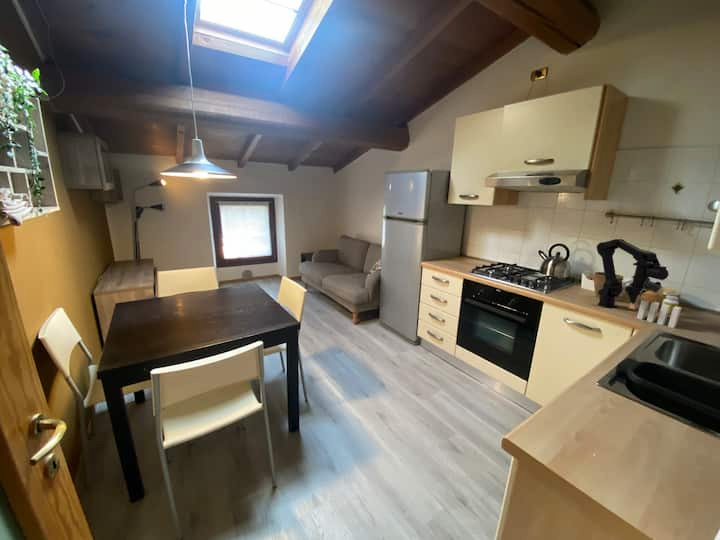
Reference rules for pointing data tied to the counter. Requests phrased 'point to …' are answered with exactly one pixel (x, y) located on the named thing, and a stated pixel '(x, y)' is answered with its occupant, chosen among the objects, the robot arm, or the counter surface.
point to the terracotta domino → (635, 303)
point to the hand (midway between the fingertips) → (634, 302)
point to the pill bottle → (670, 303)
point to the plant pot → (602, 281)
